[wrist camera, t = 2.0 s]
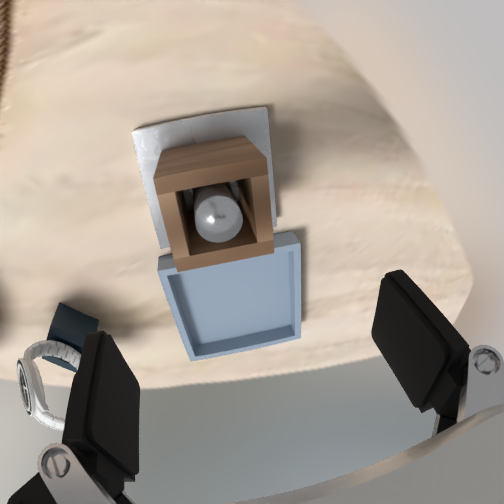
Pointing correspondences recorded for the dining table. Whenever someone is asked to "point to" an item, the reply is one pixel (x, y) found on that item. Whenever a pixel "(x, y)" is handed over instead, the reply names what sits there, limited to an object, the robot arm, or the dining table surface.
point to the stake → (210, 196)
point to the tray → (237, 301)
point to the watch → (53, 360)
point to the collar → (206, 173)
